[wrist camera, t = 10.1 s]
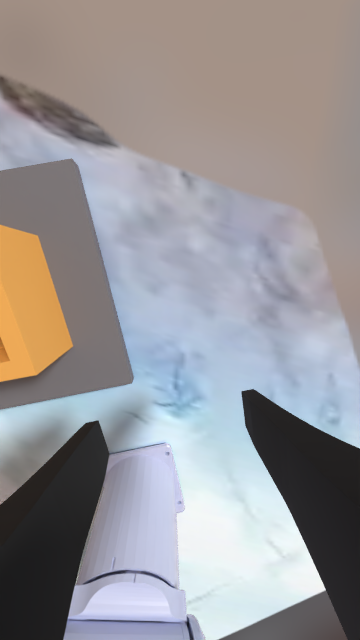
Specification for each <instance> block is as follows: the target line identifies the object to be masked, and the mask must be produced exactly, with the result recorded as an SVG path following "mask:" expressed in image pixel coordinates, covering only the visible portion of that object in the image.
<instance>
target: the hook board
mask: <svg viewBox="0 0 360 640" xmlns="http://www.w3.org/2000/svg"><path fill="white" fill-rule="evenodd" d="M0 225H3V226H6V227H9V228H13V229H16V230H20V231H23V232H27V233H30V234H34V235H37V236H38V237H39V241H40V244H41V247H42V250H43V253H44V256H45V259H46V263H47V266H48V269H49V272H50V275H51V278H52V281H53V284H54V288H55V291H56V294H57V297H58V300H59V303H60V306H61V310H62V313H63V316H64V319H65V322H66V325H67V328H68V332H69V335H70V338H71V341H72V344H73V347H71V348H70V349H69V350H68V351H66V352H65V353H64V354H63V355H61V356H60V357H59V358H58V359H56V360H55V361H54V362H53V363H51V364H50V365H49V366H48V367H46V368H45V369H44V370H43V371H41V372H40V373H39V374H38V375H34V376H29V377H24V378H18V379H13V380H7V381H2V382H0V409H5V408H10V407H15V406H20V405H25V404H30V403H35V402H40V401H45V400H50V399H55V398H60V397H65V396H70V395H75V394H80V393H85V392H90V391H95V390H100V389H105V388H110V387H115V386H120V385H125V384H130V383H132V382H133V378H134V377H133V373H132V369H131V365H130V361H129V358H128V354H127V350H126V346H125V342H124V339H123V335H122V331H121V327H120V323H119V320H118V316H117V312H116V308H115V305H114V301H113V297H112V293H111V289H110V286H109V282H108V278H107V274H106V270H105V267H104V263H103V259H102V255H101V251H100V248H99V244H98V240H97V236H96V232H95V229H94V225H93V221H92V217H91V213H90V210H89V206H88V202H87V198H86V194H85V191H84V187H83V183H82V179H81V176H80V172H79V168H78V165H77V164H76V163H75V162H74V161H73V159H67V160H61V161H55V162H49V163H43V164H37V165H32V166H26V167H20V168H14V169H8V170H2V171H0Z"/></svg>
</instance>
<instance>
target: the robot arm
mask: <svg viewBox="0 0 360 640" xmlns="http://www.w3.org/2000/svg"><path fill="white" fill-rule="evenodd" d="M242 400H243V408H244V416H245V425H246V428H247V430H248V433H249V435H250V437H251V440H252V442H253V444H254V446H255V448H256V450H257V452H258V454H259V456H260V457H261V459H262V461H263V463H264V465H265V466H266V468H267V470H268V472H269V474H270V475H271V477H272V479H273V481H274V483H275V484H276V486H277V488H278V490H279V491H280V493H281V495H282V497H283V499H284V500H285V502H286V504H287V506H288V508H289V510H290V512H291V514H292V516H293V518H294V521H295V523H296V525H297V527H298V529H299V531H300V533H301V536H302V538H303V540H304V542H305V544H306V546H307V549H308V551H309V553H310V555H311V557H312V560H313V562H314V564H315V566H316V568H317V571H318V573H319V575H320V577H321V580H322V582H323V584H324V586H325V589H326V591H327V593H328V595H329V597H330V600H331V602H332V604H333V607H334V609H335V611H336V614H337V616H338V618H339V620H340V623H341V625H342V627H343V630H344V632H345V634H346V636H347V639H348V640H360V449H359V448H357V447H355V446H352V445H350V444H348V443H346V442H343V441H341V440H339V439H337V438H335V437H333V436H331V435H329V434H327V433H325V432H323V431H321V430H319V429H317V428H315V427H313V426H312V425H310V424H308V423H306V422H305V421H303V420H301V419H299V418H298V417H296V416H294V415H292V414H291V413H289V412H288V411H286V410H284V409H283V408H281V407H280V406H278V405H277V404H275V403H274V402H272V401H270V400H269V399H267V398H266V397H265V396H263V395H262V394H260V393H259V392H257V391H256V390H254V389H252V390H247V391H242ZM102 486H103V488H104V490H103V493H102V497H101V500H100V504H99V507H98V511H97V514H96V518H95V521H94V525H93V528H92V532H91V535H90V539H89V542H88V546H87V549H86V553H85V556H84V559H83V563H82V566H81V570H80V573H79V577H78V580H77V584H76V585H75V583H76V578H77V574H78V570H79V565H80V561H81V557H82V553H83V550H84V546H85V542H86V539H87V536H88V532H89V529H90V526H91V523H92V519H93V516H94V513H95V510H96V506H97V503H98V500H99V496H100V493H101V490H102ZM184 510H185V505H184V500H183V496H182V492H181V488H180V483H179V479H178V475H177V471H176V466H175V462H174V458H173V454H172V449H171V446H170V444H168V443H164V444H159V445H154V446H150V447H145V448H140V449H135V450H130V451H125V452H121V453H116V454H111V455H109V451H108V448H107V445H106V442H105V439H104V436H103V433H102V430H101V427H100V424H99V421H94V422H89V423H86V424H85V425H83V426H82V427H81V428H80V429H79V430H78V431H77V432H76V433H75V434H74V435H73V436H72V437H71V438H70V439H69V440H68V441H67V442H66V443H65V444H64V445H63V446H62V447H61V448H60V449H59V450H58V451H57V452H56V453H55V454H54V455H53V456H52V457H51V459H50V460H49V461H48V462H46V463H45V464H44V465H43V466H42V467H41V468H40V469H39V470H38V471H37V472H36V473H35V474H34V475H33V476H32V477H31V478H30V479H29V480H28V481H27V482H26V483H24V484H23V485H22V486H21V487H20V488H19V489H18V490H17V491H16V492H15V493H13V494H12V495H11V496H10V497H9V498H8V499H7V500H6V501H4V502H3V503H2V504H1V505H0V640H206V639H205V636H204V634H203V632H202V630H201V628H200V626H199V623H198V621H197V619H196V618H195V616H194V615H191V614H186V598H185V591H184V590H179V560H178V537H177V514H176V513H180V512H183V511H184Z"/></svg>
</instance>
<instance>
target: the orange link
mask: <svg viewBox="0 0 360 640" xmlns="http://www.w3.org/2000/svg"><path fill="white" fill-rule="evenodd" d="M71 347H73V344H72V341H71V338H70V335H69V332H68V328H67V325H66V322H65V319H64V316H63V313H62V310H61V306H60V303H59V300H58V297H57V294H56V291H55V288H54V284H53V281H52V278H51V275H50V272H49V269H48V266H47V263H46V259H45V256H44V253H43V250H42V247H41V244H40V241H39V237H38V236H37V235H34V234H30V233H27V232H23V231H20V230H16V229H13V228H9V227H6V226H3V225H0V382H2V381H7V380H13V379H18V378H24V377H29V376H34V375H38V374H39V373H40V372H41V371H43V370H44V369H45V368H46V367H48V366H49V365H50V364H51V363H53V362H54V361H55V360H56V359H58V358H59V357H60V356H61V355H63V354H64V353H65V352H66V351H68V350H69V349H70V348H71Z"/></svg>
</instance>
